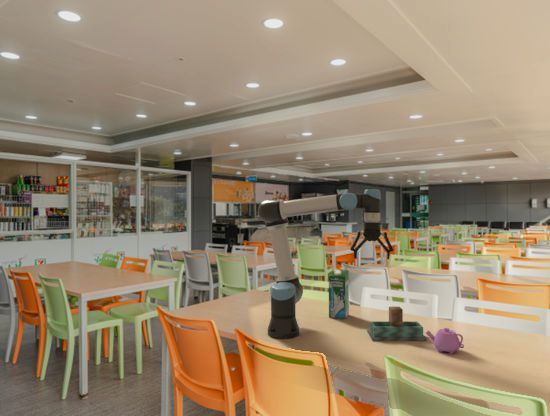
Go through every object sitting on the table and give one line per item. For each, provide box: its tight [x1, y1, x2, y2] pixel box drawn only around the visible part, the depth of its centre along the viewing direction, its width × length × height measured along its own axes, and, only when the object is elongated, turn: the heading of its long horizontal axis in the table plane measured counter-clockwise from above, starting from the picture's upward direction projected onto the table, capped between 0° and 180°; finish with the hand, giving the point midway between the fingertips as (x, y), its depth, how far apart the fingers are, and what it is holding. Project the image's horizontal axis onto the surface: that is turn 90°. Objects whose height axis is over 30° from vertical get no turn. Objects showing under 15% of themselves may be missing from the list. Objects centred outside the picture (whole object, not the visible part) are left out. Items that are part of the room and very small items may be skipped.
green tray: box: [366, 320, 428, 342], centre depth 189 cm, size 24×12×6 cm, turn 88°
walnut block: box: [388, 306, 404, 327], centre depth 189 cm, size 5×5×12 cm
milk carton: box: [328, 268, 350, 320], centre depth 223 cm, size 9×9×25 cm
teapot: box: [425, 327, 465, 355], centre depth 171 cm, size 10×15×9 cm
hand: (371, 265), depth 196 cm, fingers open, 13 cm apart
